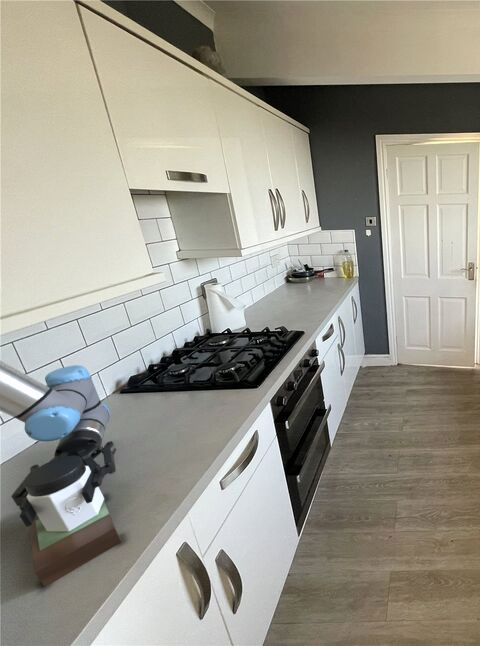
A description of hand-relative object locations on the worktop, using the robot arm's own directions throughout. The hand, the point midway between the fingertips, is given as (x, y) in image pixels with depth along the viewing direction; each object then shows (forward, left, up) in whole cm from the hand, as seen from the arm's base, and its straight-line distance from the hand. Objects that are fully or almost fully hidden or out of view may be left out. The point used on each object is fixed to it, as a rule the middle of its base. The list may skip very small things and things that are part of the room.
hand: (57, 508), depth 66 cm
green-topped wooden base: (-4, 0, -12) cm, 12 cm away
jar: (-5, +1, -7) cm, 8 cm away
